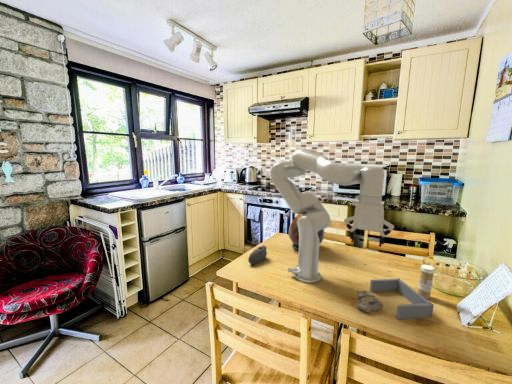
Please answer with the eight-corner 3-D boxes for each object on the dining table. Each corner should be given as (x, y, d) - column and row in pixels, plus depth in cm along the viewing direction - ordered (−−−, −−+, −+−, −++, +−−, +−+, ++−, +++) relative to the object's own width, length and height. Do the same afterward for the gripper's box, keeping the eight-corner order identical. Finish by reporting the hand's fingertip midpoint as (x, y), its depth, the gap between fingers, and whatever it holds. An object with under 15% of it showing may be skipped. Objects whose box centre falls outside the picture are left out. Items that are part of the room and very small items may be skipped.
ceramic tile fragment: (353, 287, 101) (379, 291, 99) (352, 294, 102) (378, 298, 100) (357, 305, 90) (387, 310, 88) (357, 313, 91) (386, 317, 88)
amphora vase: (327, 246, 153) (330, 203, 148) (317, 259, 134) (320, 210, 130) (295, 239, 164) (297, 199, 159) (282, 250, 145) (283, 205, 140)
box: (398, 319, 87) (399, 307, 86) (369, 290, 105) (370, 279, 104) (431, 317, 88) (433, 304, 87) (397, 288, 106) (399, 278, 105)
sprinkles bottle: (414, 293, 103) (418, 264, 101) (424, 292, 103) (428, 263, 101) (423, 300, 98) (427, 269, 96) (433, 299, 99) (437, 269, 97)
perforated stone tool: (252, 267, 124) (252, 254, 123) (244, 264, 128) (244, 252, 127) (269, 257, 136) (269, 246, 135) (262, 255, 139) (262, 243, 138)
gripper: (344, 199, 90) (341, 242, 93) (397, 204, 82) (391, 251, 85) (347, 196, 97) (344, 236, 100) (396, 200, 89) (391, 244, 91)
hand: (366, 243), depth 92 cm, fingers open, 9 cm apart
